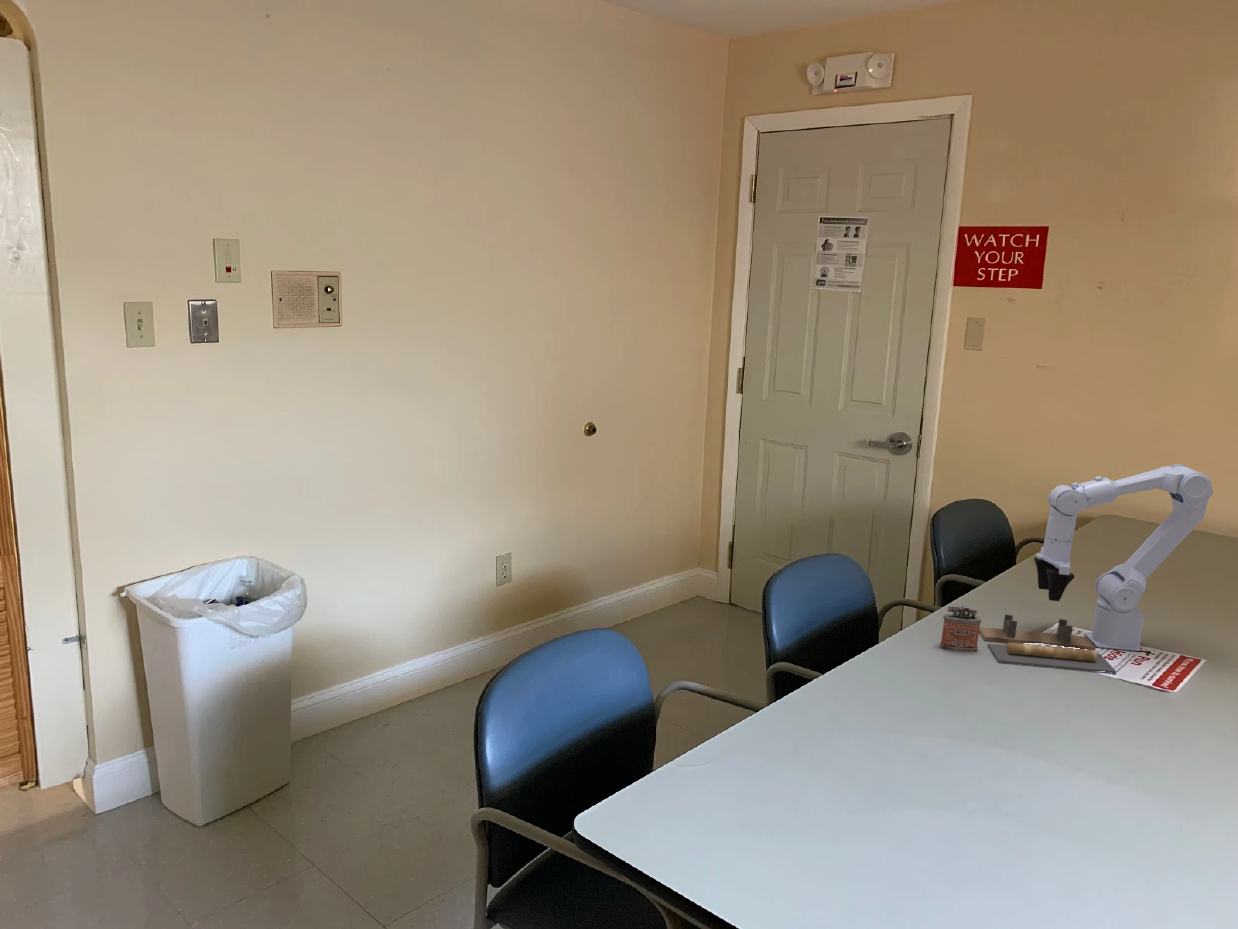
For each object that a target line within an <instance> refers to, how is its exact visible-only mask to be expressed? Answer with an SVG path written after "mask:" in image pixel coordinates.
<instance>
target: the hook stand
mask: <svg viewBox="0 0 1238 929" xmlns="http://www.w3.org/2000/svg"><path fill="white" fill-rule="evenodd" d="M1013 616H1014V615H1013V614H1004V617H1003V619H1004V620H1003V626H1002V628H995V627H984V626H980V628H979V635H980V636H981V638H982V639H983V641H984V642H991V643H993V642H994V643H1004V644H1005V643H1006V644H1008V642H1009V643H1044V644H1049V645H1057V646H1064V647H1075V648H1080V649H1088V650H1095V651H1096V648H1097V647H1096V646H1095V645H1094V644H1093V642H1092V641H1091V640H1090V639H1089V638H1088V637H1087V636H1086V635H1085V636H1084V635H1073V634H1072V633H1073V625H1070V624H1068V619H1063V618H1062V619H1061V618H1059V620H1058V624H1057V631H1056V633H1051V632H1050V633H1049V632H1042V631H1041V632H1040V631H1027V630H1019V629H1018V630H1017V626H1018V621H1017V620H1013V618H1014V617H1013Z"/></svg>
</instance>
